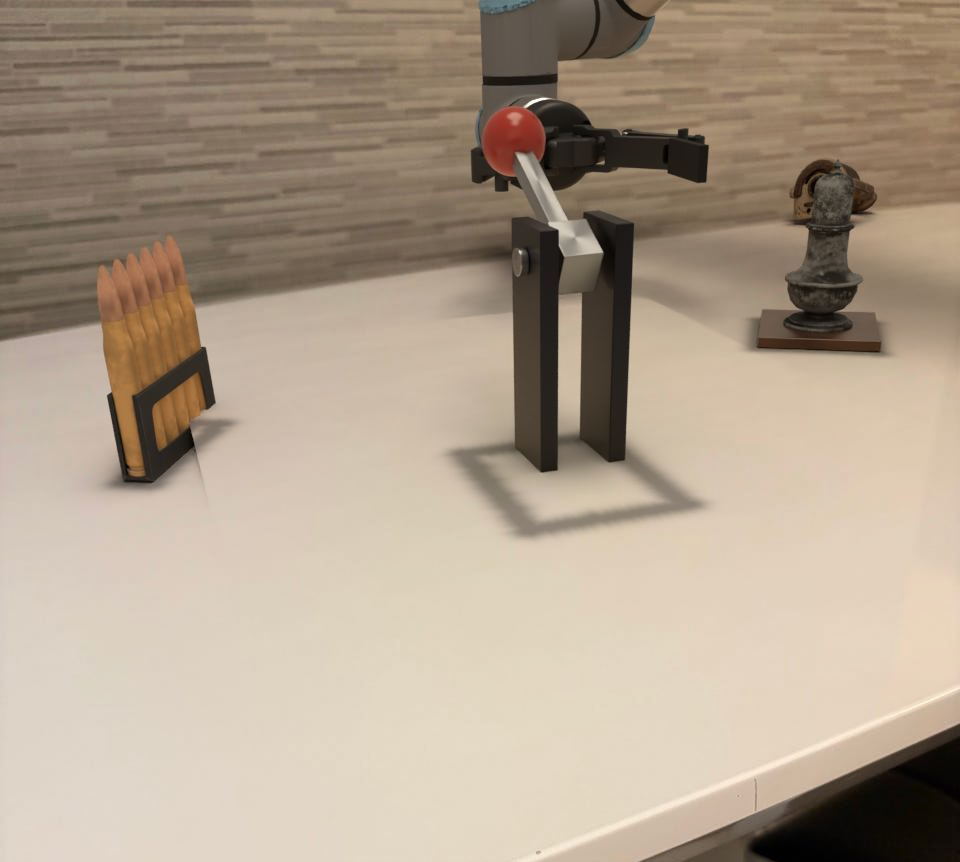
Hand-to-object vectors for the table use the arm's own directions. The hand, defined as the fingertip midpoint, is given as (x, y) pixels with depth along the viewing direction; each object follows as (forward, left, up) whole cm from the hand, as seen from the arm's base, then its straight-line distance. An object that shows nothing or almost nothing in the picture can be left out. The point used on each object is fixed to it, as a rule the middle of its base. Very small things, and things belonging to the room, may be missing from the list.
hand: (620, 169), depth 83 cm
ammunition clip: (+23, +33, -12) cm, 42 cm away
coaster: (-16, 0, -12) cm, 20 cm away
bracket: (-2, +33, -12) cm, 35 cm away
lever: (+1, +28, +1) cm, 28 cm away
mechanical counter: (-19, -54, -12) cm, 59 cm away
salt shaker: (-16, 0, -12) cm, 20 cm away
